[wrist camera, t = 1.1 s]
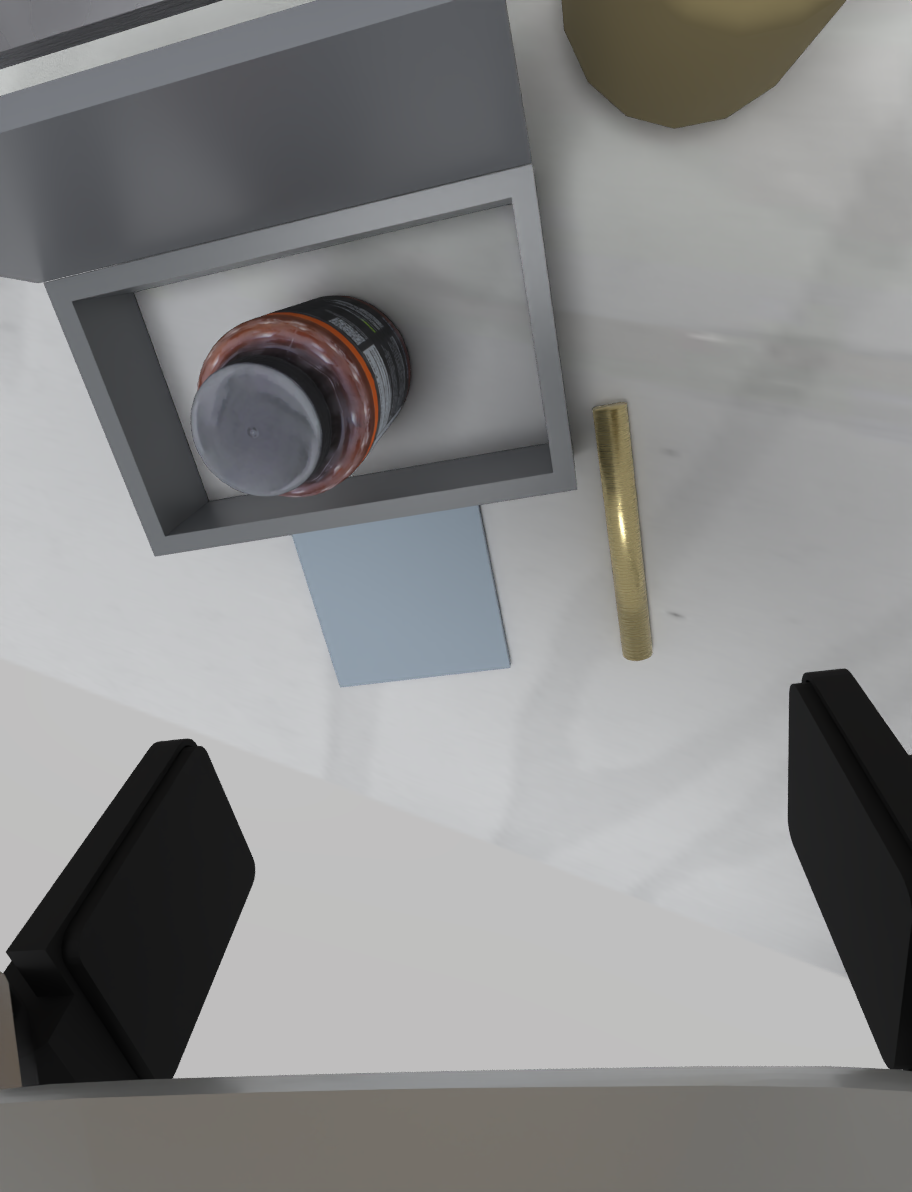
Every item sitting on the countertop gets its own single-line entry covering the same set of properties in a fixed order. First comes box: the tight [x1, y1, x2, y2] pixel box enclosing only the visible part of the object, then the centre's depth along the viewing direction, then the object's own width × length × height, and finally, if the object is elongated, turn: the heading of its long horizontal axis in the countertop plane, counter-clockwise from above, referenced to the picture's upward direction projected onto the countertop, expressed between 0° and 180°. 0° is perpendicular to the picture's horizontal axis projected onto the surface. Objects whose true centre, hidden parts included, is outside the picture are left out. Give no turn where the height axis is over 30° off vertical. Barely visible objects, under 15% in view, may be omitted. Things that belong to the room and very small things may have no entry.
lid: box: [0, 0, 532, 283], centre depth 20 cm, size 11×18×1 cm
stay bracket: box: [0, 0, 222, 69], centre depth 21 cm, size 3×15×16 cm, turn 102°
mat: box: [292, 505, 511, 687], centre depth 36 cm, size 9×9×1 cm
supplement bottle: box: [191, 296, 411, 497], centre depth 26 cm, size 6×6×11 cm
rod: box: [593, 402, 652, 661], centre depth 33 cm, size 12×1×1 cm
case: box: [44, 164, 577, 556], centre depth 29 cm, size 11×18×4 cm, turn 102°
